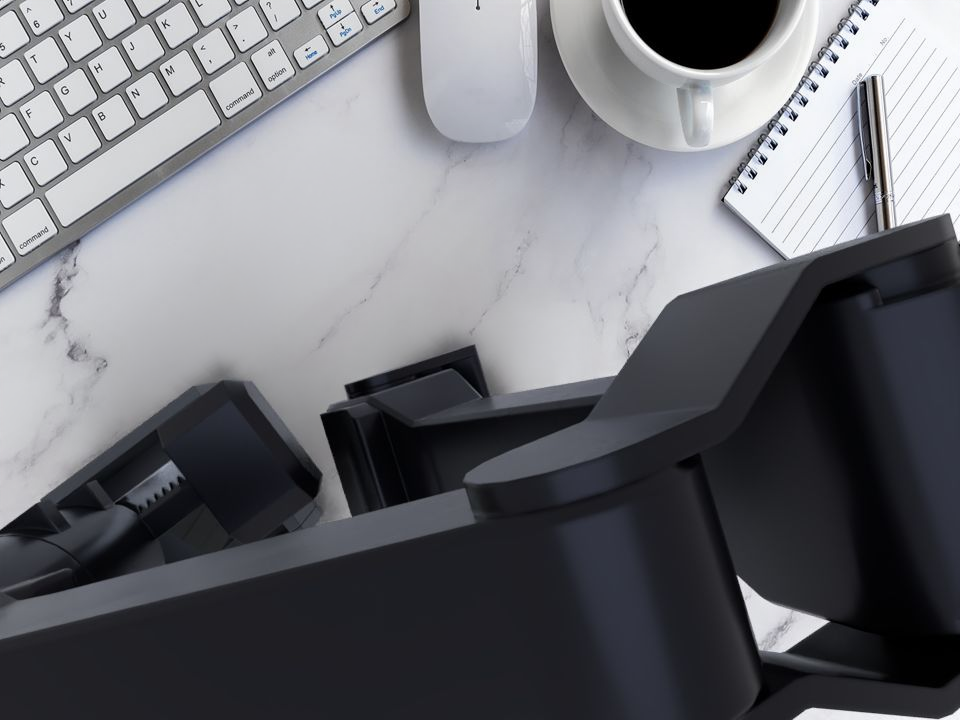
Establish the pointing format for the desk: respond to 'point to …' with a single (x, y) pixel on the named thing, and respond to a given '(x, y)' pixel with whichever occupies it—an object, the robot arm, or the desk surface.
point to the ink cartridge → (196, 525)
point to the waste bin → (143, 458)
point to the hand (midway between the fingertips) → (167, 522)
